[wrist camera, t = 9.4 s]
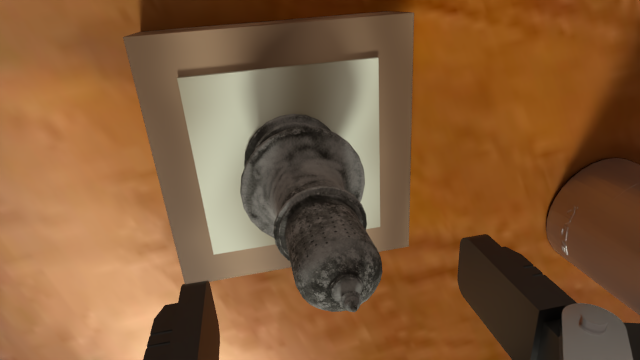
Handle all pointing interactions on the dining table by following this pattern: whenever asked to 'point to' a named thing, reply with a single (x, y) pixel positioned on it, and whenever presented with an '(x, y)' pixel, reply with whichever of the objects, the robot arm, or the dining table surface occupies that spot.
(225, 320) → the dining table surface
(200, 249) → the base block
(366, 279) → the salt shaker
